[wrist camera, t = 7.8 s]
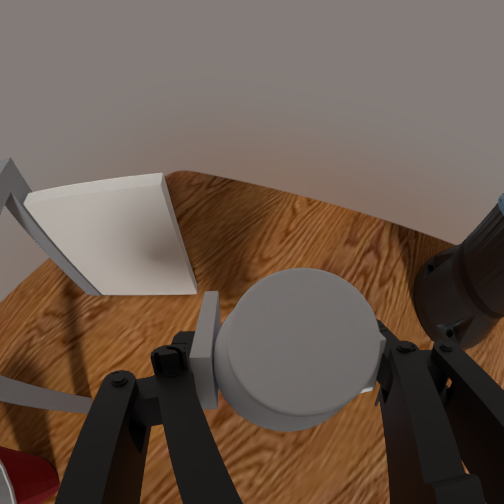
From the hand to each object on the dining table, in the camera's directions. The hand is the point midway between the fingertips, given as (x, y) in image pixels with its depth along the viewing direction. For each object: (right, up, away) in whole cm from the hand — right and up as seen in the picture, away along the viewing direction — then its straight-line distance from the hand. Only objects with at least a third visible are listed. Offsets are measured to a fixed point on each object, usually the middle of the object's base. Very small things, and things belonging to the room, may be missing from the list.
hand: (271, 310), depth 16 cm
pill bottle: (0, -5, +1) cm, 5 cm away
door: (-14, -1, +17) cm, 22 cm away
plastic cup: (-28, -25, +2) cm, 38 cm away
